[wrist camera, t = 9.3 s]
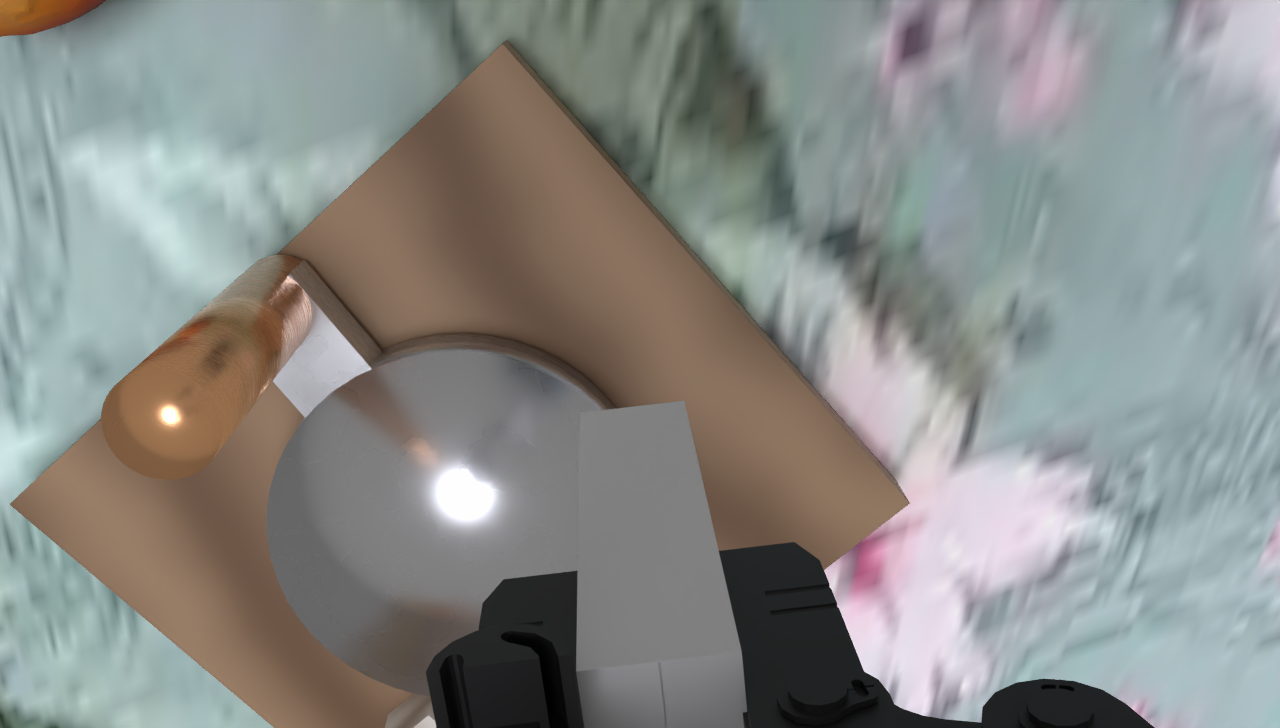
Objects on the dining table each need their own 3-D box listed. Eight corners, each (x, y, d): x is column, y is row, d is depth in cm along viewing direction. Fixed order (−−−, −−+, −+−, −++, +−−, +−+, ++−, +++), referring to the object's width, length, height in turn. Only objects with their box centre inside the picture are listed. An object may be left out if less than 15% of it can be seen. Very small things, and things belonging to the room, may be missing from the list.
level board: (506, 40, 37) (496, 48, 32) (895, 479, 42) (929, 535, 38) (36, 479, 40) (-27, 537, 36) (446, 830, 46) (432, 916, 42)
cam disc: (719, 538, 40) (766, 740, 29) (440, 725, 42) (390, 978, 31) (407, 145, 35) (332, 218, 25) (109, 374, 37) (-78, 532, 27)
